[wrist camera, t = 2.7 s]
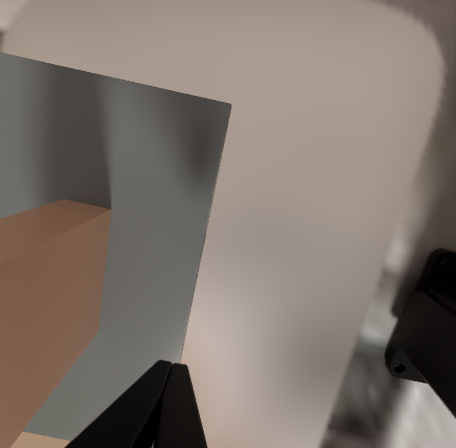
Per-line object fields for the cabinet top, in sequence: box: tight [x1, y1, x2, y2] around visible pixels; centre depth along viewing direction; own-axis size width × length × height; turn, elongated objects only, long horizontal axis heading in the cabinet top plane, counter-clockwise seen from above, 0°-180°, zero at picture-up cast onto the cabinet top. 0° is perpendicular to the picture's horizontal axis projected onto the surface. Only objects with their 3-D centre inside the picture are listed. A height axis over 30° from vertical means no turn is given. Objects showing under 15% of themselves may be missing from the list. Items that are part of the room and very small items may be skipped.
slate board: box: [0, 53, 231, 448], centre depth 14 cm, size 16×18×1 cm
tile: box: [0, 199, 112, 448], centre depth 10 cm, size 2×6×7 cm, turn 168°
